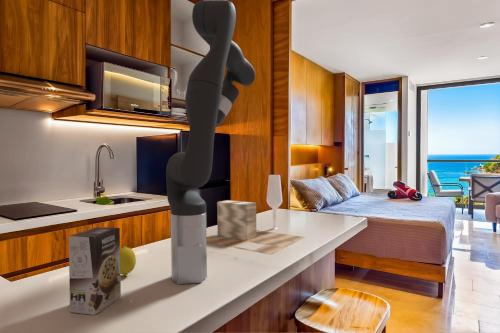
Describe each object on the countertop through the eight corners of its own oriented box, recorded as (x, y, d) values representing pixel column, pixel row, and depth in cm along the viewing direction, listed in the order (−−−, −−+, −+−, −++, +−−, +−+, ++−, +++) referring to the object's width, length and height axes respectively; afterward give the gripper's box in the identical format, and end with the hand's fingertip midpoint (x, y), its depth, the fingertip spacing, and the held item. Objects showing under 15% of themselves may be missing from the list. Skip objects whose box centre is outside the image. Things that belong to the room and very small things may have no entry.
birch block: (256, 237, 125) (256, 202, 125) (247, 240, 120) (247, 204, 120) (227, 232, 133) (226, 200, 132) (217, 235, 128) (217, 202, 127)
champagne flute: (274, 234, 135) (274, 175, 134) (263, 231, 140) (263, 175, 139) (285, 232, 139) (285, 175, 139) (274, 229, 144) (274, 174, 144)
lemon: (123, 281, 86) (122, 250, 85) (109, 277, 88) (109, 247, 88) (140, 274, 90) (139, 245, 90) (127, 270, 93) (126, 242, 93)
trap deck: (306, 241, 124) (306, 237, 124) (271, 259, 103) (271, 254, 103) (237, 230, 142) (237, 227, 142) (195, 244, 121) (195, 240, 121)
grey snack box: (96, 315, 67) (94, 236, 66) (68, 312, 68) (66, 235, 68) (122, 296, 76) (121, 227, 75) (97, 294, 77) (96, 226, 77)
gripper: (209, 111, 125) (184, 149, 121) (206, 97, 112) (178, 139, 108) (226, 121, 124) (201, 159, 121) (225, 108, 111) (198, 151, 108)
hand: (190, 150), depth 115 cm, fingers closed
